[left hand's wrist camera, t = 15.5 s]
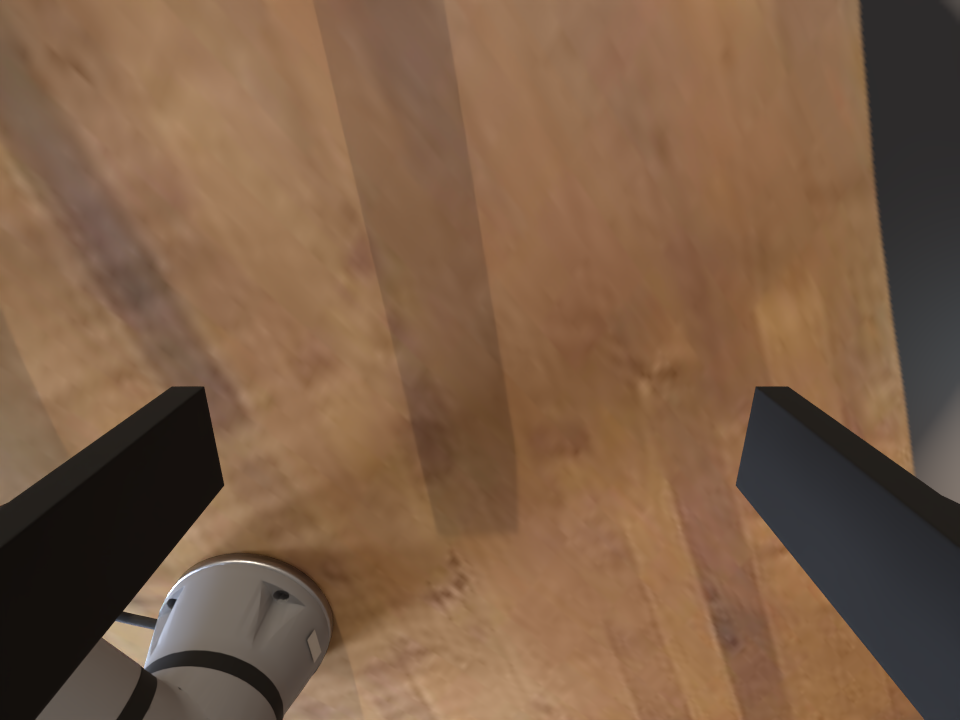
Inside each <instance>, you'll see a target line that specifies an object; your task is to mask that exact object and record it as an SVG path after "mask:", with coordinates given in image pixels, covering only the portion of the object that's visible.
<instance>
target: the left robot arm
mask: <svg viewBox="0 0 960 720" xmlns="http://www.w3.org/2000/svg"><path fill="white" fill-rule="evenodd" d="M223 486H224V482H223V477H222V472H221V467H220V462H219V457H218V452H217V447H216V442H215V438H214V433H213V428H212V423H211V418H210V413H209V408H208V403H207V398H206V393H205V389H204V387H171V388H169V389H168V390H166V391H165V392H164V393H162V394H161V395H159V396H158V397H157V398H155V399H154V400H152V401H151V402H150V403H148V404H147V405H145V406H144V407H142V408H141V409H140V410H138V411H137V412H135V413H134V414H133V415H131V416H130V417H128V418H127V419H126V420H124V421H123V422H121V423H120V424H119V425H117V426H116V427H114V428H113V429H111V430H110V431H109V432H107V433H106V434H104V435H103V436H102V437H100V438H99V439H97V440H96V441H95V442H93V443H92V444H90V445H89V446H87V447H86V448H85V449H83V450H82V451H80V452H79V453H78V454H76V455H75V456H73V457H72V458H71V459H69V460H68V461H66V462H65V463H64V464H62V465H61V466H59V467H58V468H56V469H55V470H54V471H52V472H51V473H49V474H48V475H47V476H45V477H44V478H42V479H41V480H40V481H38V482H37V483H35V484H34V485H33V486H31V487H30V488H28V489H27V490H25V491H24V492H23V493H21V494H20V495H18V496H17V497H16V498H14V499H13V500H11V501H10V502H8V503H6V504H4V505H2V506H0V720H282V719H283V717H284V714H285V713H286V712H287V710H288V709H289V707H290V706H291V705H292V703H293V702H294V701H295V699H296V698H297V697H298V695H299V694H300V692H301V691H302V689H303V688H304V687H305V685H306V684H307V682H308V681H309V679H310V678H311V676H312V675H313V674H314V673H315V672H316V670H317V669H318V667H319V666H320V664H321V662H322V660H323V658H324V656H325V654H326V651H327V649H328V646H329V642H330V639H331V635H332V631H333V617H332V612H331V608H330V605H329V603H328V601H327V599H326V597H325V595H324V594H323V592H322V591H321V589H320V588H319V587H318V586H317V585H316V584H315V583H314V582H313V581H312V580H311V579H310V578H309V577H308V576H306V575H305V574H304V573H302V572H301V571H299V570H298V569H296V568H295V567H293V566H291V565H289V564H287V563H285V562H282V561H280V560H277V559H274V558H270V557H267V556H262V555H257V554H247V553H234V554H225V555H220V556H215V557H212V558H209V559H206V560H204V561H201V562H200V563H198V564H196V565H194V566H193V567H191V568H190V569H189V570H187V571H186V572H185V573H184V574H183V575H182V576H181V577H180V578H179V580H178V581H177V583H176V584H175V585H174V587H173V588H172V589H171V591H170V592H169V594H168V596H167V597H166V599H165V601H164V603H163V605H162V607H161V610H160V613H159V616H158V619H154V618H149V617H145V616H140V615H135V614H131V613H127V612H123V610H124V609H125V608H126V607H127V605H128V604H129V603H130V602H131V600H132V599H133V598H134V597H135V595H136V594H137V593H138V592H139V590H140V589H141V588H142V587H143V586H144V584H145V583H146V582H147V581H148V579H149V578H150V577H151V576H152V574H153V573H154V572H155V571H156V569H157V568H158V567H159V566H160V564H161V563H162V562H163V561H164V559H165V558H166V557H167V556H168V554H169V553H170V552H171V551H172V550H173V548H174V547H175V546H176V545H177V543H178V542H179V541H180V540H181V538H182V537H183V536H184V535H185V533H186V532H187V531H188V530H189V528H190V527H191V526H192V525H193V523H194V522H195V521H196V520H197V519H198V517H199V516H200V515H201V514H202V512H203V511H204V510H205V509H206V507H207V506H208V505H209V504H210V502H211V501H212V500H213V499H214V497H215V496H216V495H217V494H218V492H219V491H220V490H221V489H222V488H223ZM736 486H737V488H738V489H739V490H740V491H741V492H742V494H743V495H744V496H745V497H746V499H747V500H748V501H749V502H750V504H751V505H752V506H753V507H754V509H755V510H756V511H757V512H758V514H759V515H760V516H761V517H762V519H763V520H764V521H765V522H766V523H767V525H768V526H769V527H770V528H771V530H772V531H773V532H774V533H775V535H776V536H777V537H778V538H779V540H780V541H781V542H782V543H783V545H784V546H785V547H786V548H787V550H788V551H789V552H790V553H791V554H792V556H793V557H794V558H795V559H796V561H797V562H798V563H799V564H800V566H801V567H802V568H803V569H804V571H805V572H806V573H807V574H808V576H809V577H810V578H811V579H812V581H813V582H814V583H815V584H816V586H817V587H818V588H819V589H820V590H821V592H822V593H823V594H824V595H825V597H826V598H827V599H828V600H829V602H830V603H831V604H832V605H833V607H834V608H835V609H836V610H837V612H838V613H839V614H840V615H841V617H842V618H843V619H844V620H845V621H846V623H847V624H848V625H849V626H850V628H851V629H852V630H853V631H854V633H855V634H856V635H857V636H858V638H859V639H860V640H861V641H862V643H863V644H864V645H865V646H866V648H867V649H868V650H869V651H870V652H871V654H872V655H873V656H874V657H875V659H876V660H877V661H878V662H879V664H880V665H881V666H882V667H883V669H884V670H885V671H886V672H887V674H888V675H889V676H890V677H891V679H892V680H893V681H894V682H895V684H896V685H897V686H898V687H899V688H900V690H901V691H902V692H903V693H904V695H905V696H906V697H907V698H908V700H909V701H910V702H911V703H912V705H913V706H914V707H915V708H916V710H917V711H918V712H919V713H920V715H921V716H922V717H923V718H924V719H925V720H960V504H958V503H956V502H954V501H952V500H950V499H948V498H946V497H944V496H942V495H940V494H939V493H937V492H936V491H934V490H933V489H932V488H930V487H929V486H927V485H926V484H925V483H923V482H922V481H920V480H919V479H918V478H916V477H915V476H913V475H912V474H911V473H909V472H908V471H906V470H905V469H904V468H902V467H901V466H899V465H898V464H896V463H895V462H894V461H892V460H891V459H889V458H888V457H887V456H885V455H884V454H882V453H881V452H880V451H878V450H877V449H875V448H874V447H873V446H871V445H870V444H868V443H867V442H865V441H864V440H863V439H861V438H860V437H858V436H857V435H856V434H854V433H853V432H851V431H850V430H849V429H847V428H846V427H844V426H843V425H841V424H840V423H839V422H837V421H836V420H834V419H833V418H832V417H830V416H829V415H827V414H826V413H825V412H823V411H822V410H820V409H819V408H818V407H816V406H815V405H813V404H812V403H810V402H809V401H808V400H806V399H805V398H803V397H802V396H801V395H799V394H798V393H796V392H795V391H794V390H792V389H791V388H789V387H756V389H755V393H754V398H753V403H752V408H751V413H750V418H749V423H748V428H747V433H746V438H745V442H744V447H743V452H742V457H741V462H740V467H739V472H738V477H737V482H736ZM114 621H118V622H122V623H126V624H131V625H135V626H140V627H144V628H149V629H154V634H153V638H152V641H151V645H150V648H149V652H148V655H147V659H146V663H145V666H144V668H142V667H141V666H140V665H139V664H138V663H136V662H135V661H134V660H132V659H131V658H129V657H128V656H127V655H125V654H124V653H122V652H121V651H120V650H118V649H117V648H115V647H114V646H113V645H111V644H110V643H108V642H107V641H106V640H104V639H103V638H102V636H103V635H104V634H105V633H106V631H107V630H108V629H109V628H110V626H111V625H112V624H113V623H114Z"/></svg>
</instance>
